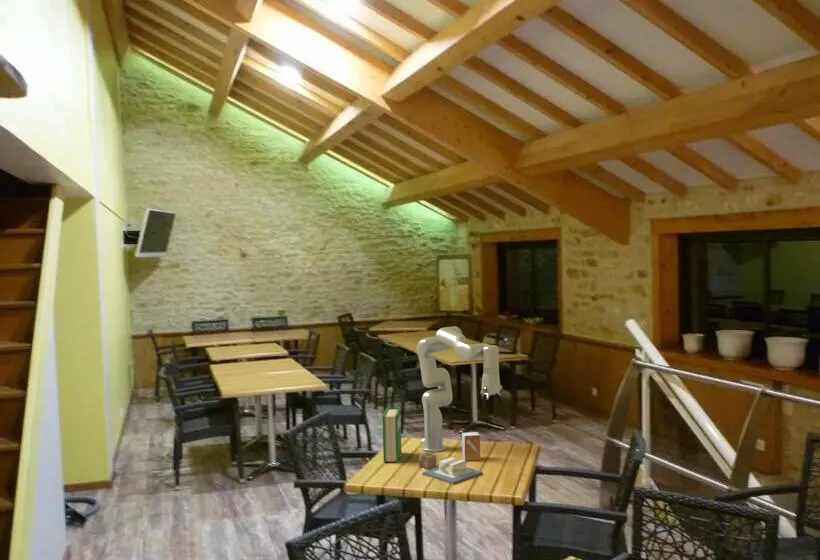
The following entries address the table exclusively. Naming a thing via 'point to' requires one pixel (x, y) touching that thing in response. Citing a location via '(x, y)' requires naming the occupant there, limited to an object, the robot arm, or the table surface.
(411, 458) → the table surface
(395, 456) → the hardback book
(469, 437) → the small box
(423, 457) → the walnut cube
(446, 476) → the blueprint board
